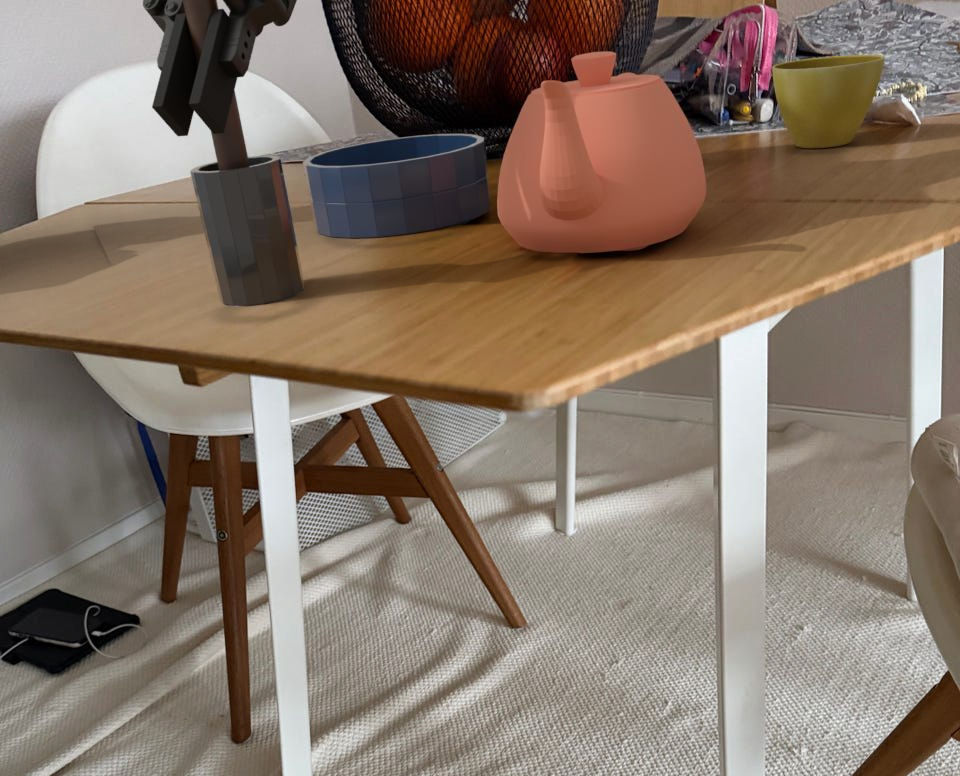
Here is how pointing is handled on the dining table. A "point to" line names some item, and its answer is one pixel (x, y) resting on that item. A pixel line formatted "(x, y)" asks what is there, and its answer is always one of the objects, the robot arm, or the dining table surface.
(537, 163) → the teapot
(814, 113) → the flower pot
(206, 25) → the stick
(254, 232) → the utensil cup
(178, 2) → the robot arm
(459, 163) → the bowl
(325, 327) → the dining table surface
